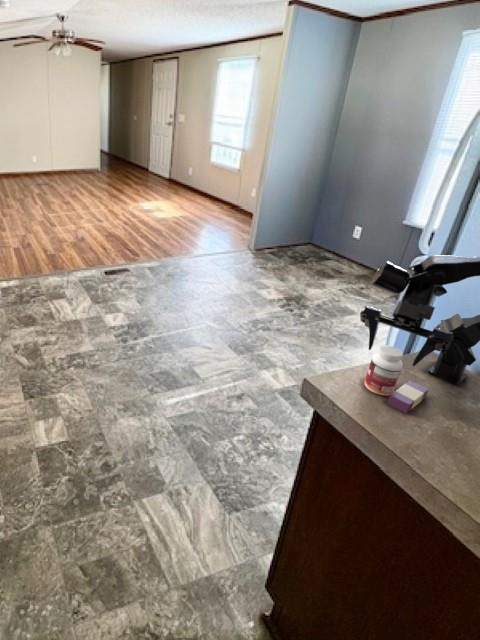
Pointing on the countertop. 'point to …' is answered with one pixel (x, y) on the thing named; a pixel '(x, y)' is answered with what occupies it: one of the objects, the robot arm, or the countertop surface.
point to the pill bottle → (384, 370)
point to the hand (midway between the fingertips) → (390, 357)
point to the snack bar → (407, 396)
